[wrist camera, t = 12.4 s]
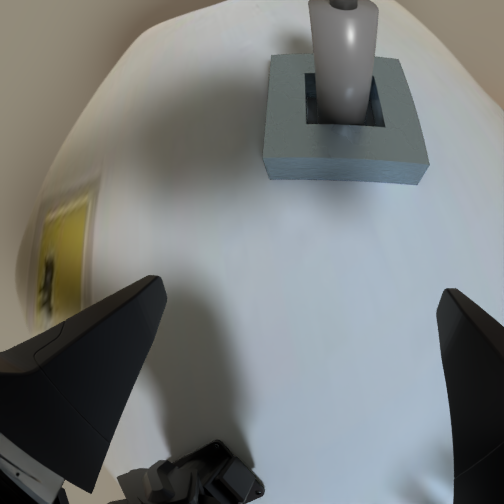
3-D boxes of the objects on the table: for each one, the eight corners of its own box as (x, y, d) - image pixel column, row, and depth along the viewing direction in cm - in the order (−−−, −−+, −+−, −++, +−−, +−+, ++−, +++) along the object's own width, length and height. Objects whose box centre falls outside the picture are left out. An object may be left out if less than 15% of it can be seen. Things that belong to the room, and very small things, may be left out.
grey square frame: (417, 185, 22) (429, 164, 19) (269, 179, 25) (262, 157, 21) (393, 82, 25) (398, 59, 22) (276, 78, 28) (271, 55, 25)
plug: (342, 148, 24) (348, -2, 10) (307, 120, 26) (289, -21, 11) (373, 124, 24) (393, -14, 10) (339, 99, 26) (337, -34, 11)
